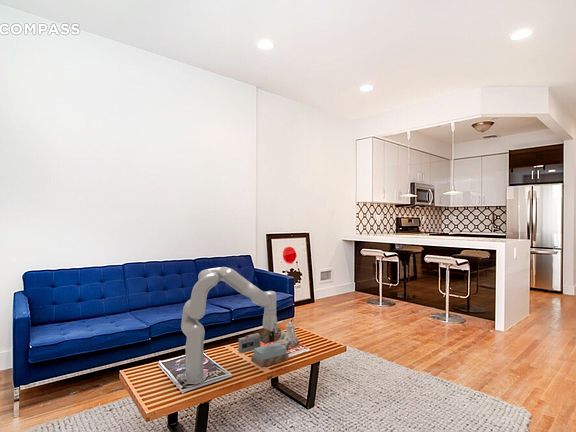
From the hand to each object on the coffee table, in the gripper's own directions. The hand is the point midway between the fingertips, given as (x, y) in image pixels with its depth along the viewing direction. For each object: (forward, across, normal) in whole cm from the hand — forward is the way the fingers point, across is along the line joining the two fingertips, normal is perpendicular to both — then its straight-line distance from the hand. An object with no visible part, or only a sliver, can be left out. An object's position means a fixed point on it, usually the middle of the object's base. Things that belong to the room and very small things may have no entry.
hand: (270, 340), depth 214 cm
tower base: (+13, 0, 0) cm, 13 cm away
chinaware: (+13, -16, +24) cm, 31 cm away
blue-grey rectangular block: (+9, 0, 0) cm, 9 cm away
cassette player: (+13, -22, -2) cm, 25 cm away
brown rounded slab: (+1, 0, 0) cm, 1 cm away
